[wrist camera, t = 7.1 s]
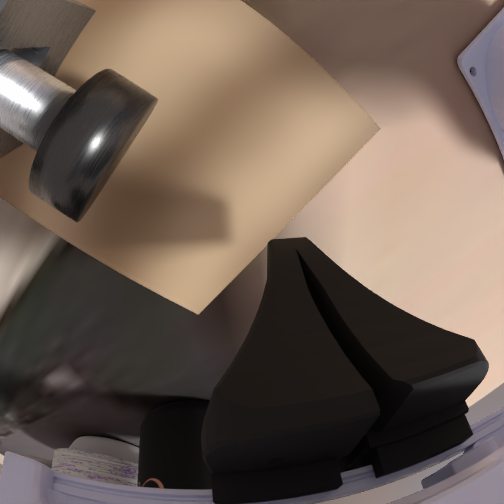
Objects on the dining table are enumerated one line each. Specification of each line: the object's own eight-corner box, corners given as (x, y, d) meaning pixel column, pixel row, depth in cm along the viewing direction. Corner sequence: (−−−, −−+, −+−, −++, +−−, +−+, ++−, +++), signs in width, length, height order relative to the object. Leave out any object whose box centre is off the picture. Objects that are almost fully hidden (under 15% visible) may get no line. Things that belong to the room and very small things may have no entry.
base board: (364, 120, 12) (380, 128, 11) (199, 294, 16) (198, 314, 15) (10, -86, 2) (-4, -92, 1) (-85, 105, 7) (-101, 113, 6)
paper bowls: (85, 457, 34) (81, 501, 27) (38, 415, 25) (25, 472, 19) (180, 468, 36) (181, 515, 29) (157, 431, 27) (155, 500, 20)
